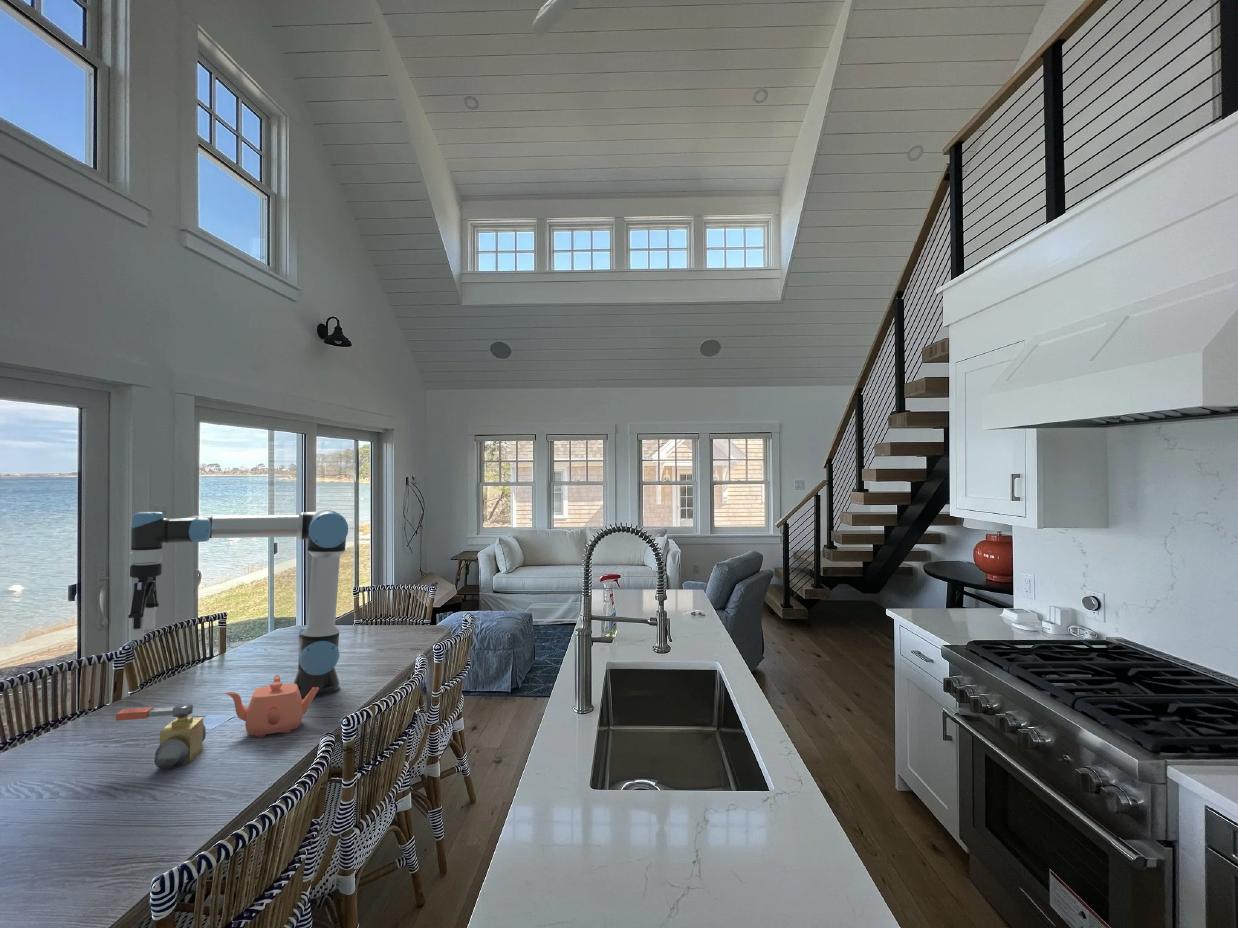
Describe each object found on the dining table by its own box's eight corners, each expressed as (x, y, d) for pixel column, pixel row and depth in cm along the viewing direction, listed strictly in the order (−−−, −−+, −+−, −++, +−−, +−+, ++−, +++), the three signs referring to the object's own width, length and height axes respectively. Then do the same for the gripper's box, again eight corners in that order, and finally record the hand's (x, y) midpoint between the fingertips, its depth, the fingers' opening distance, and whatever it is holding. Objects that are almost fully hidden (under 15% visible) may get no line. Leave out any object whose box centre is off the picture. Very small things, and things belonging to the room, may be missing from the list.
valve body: (180, 744, 169) (182, 703, 169) (209, 742, 171) (211, 701, 171) (148, 775, 152) (150, 729, 152) (181, 771, 154) (183, 726, 154)
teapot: (222, 737, 174) (224, 689, 175) (275, 714, 192) (277, 670, 192) (271, 746, 169) (273, 697, 169) (321, 721, 187) (323, 677, 187)
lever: (195, 709, 164) (195, 703, 164) (188, 715, 160) (188, 709, 160) (123, 714, 160) (124, 708, 160) (114, 721, 156) (115, 714, 156)
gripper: (141, 558, 190) (139, 625, 189) (118, 569, 167) (114, 645, 167) (170, 557, 193) (168, 623, 192) (151, 568, 171) (148, 642, 170)
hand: (143, 634), depth 180 cm, fingers open, 13 cm apart
